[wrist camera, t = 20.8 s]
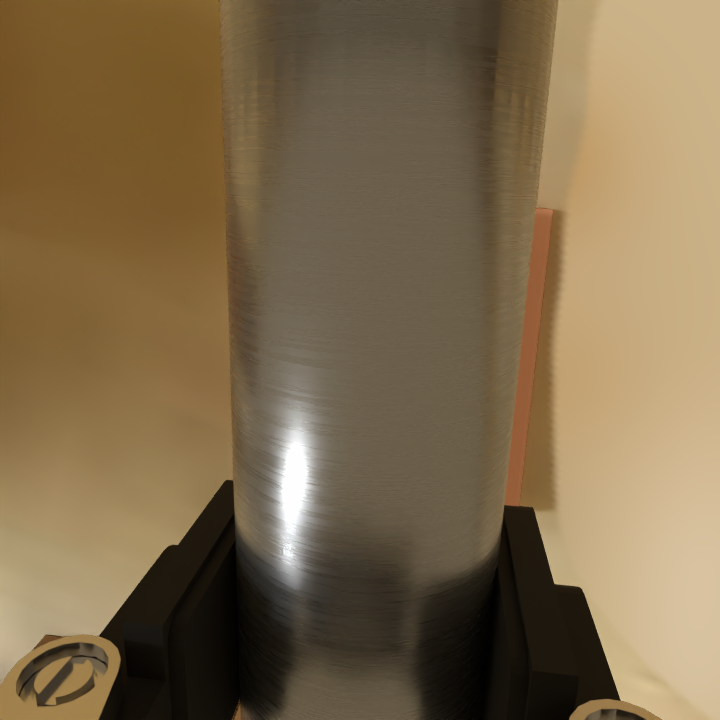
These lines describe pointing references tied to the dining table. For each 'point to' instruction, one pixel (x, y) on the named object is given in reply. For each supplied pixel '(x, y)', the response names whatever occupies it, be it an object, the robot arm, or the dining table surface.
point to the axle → (375, 339)
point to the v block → (528, 353)
